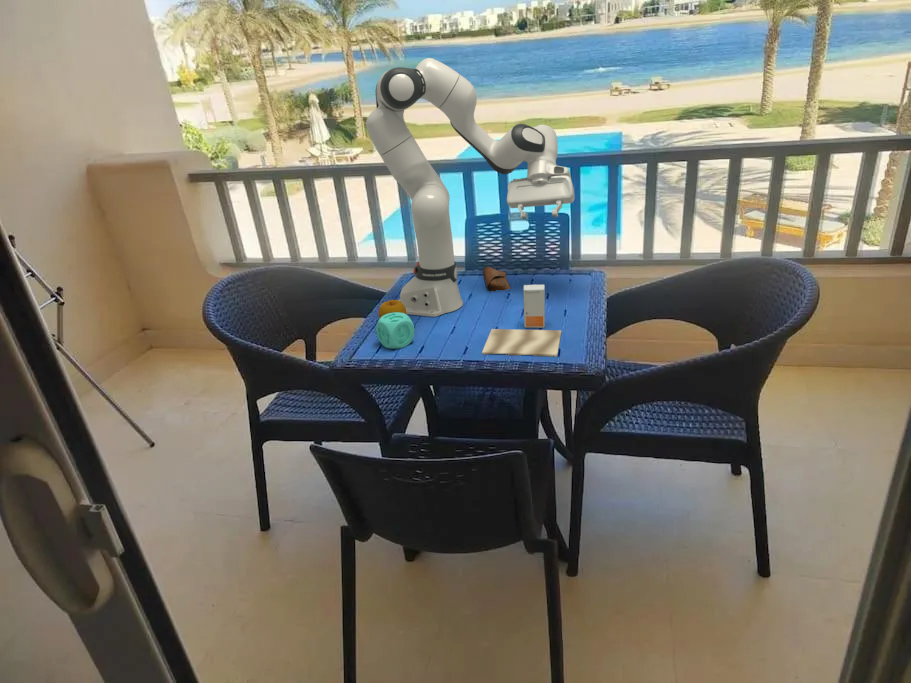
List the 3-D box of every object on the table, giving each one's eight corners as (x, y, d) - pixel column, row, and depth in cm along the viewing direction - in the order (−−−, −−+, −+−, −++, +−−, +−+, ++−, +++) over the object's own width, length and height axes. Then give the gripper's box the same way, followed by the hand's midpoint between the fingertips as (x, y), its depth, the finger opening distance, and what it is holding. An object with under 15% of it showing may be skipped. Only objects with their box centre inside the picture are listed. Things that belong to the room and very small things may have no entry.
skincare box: (524, 328, 178) (522, 289, 173) (524, 322, 181) (523, 284, 176) (545, 328, 177) (544, 289, 172) (545, 322, 180) (544, 284, 175)
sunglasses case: (512, 289, 207) (501, 274, 204) (495, 301, 208) (484, 286, 206) (505, 272, 223) (495, 258, 220) (489, 283, 224) (479, 269, 222)
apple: (388, 321, 191) (385, 295, 187) (413, 323, 188) (410, 296, 184) (375, 332, 184) (371, 305, 180) (401, 335, 181) (397, 307, 177)
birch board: (482, 354, 165) (481, 352, 165) (491, 330, 178) (491, 329, 178) (557, 356, 160) (557, 354, 160) (561, 332, 173) (561, 330, 173)
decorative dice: (400, 334, 181) (396, 309, 178) (416, 342, 175) (413, 316, 172) (377, 343, 177) (373, 318, 173) (393, 351, 171) (390, 325, 168)
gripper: (505, 174, 187) (502, 214, 183) (573, 167, 180) (571, 209, 176) (510, 185, 193) (507, 224, 189) (576, 178, 186) (574, 219, 182)
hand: (539, 217), depth 182 cm, fingers open, 8 cm apart
